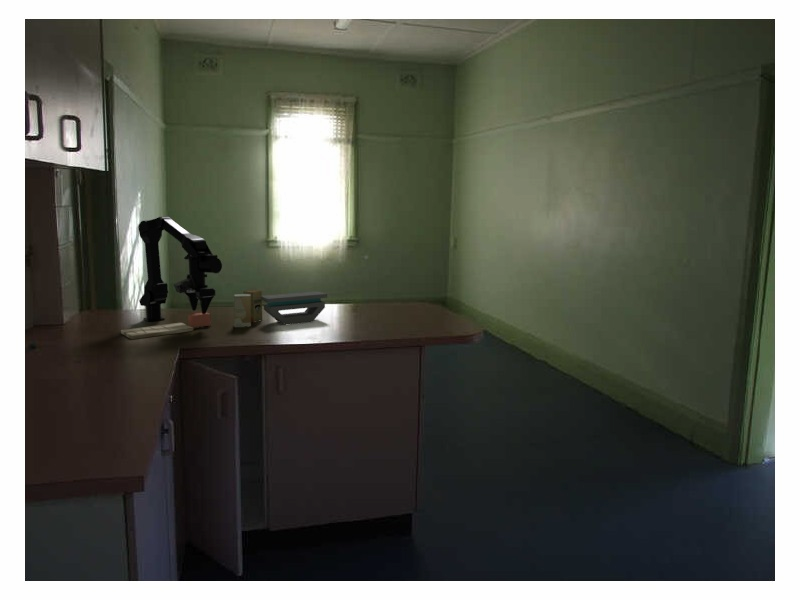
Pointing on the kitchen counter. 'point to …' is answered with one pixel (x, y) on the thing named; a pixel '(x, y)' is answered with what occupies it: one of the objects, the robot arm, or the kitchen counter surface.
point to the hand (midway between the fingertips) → (198, 312)
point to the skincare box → (242, 310)
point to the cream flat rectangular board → (156, 330)
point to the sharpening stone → (295, 306)
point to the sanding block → (199, 320)
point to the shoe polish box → (255, 304)
